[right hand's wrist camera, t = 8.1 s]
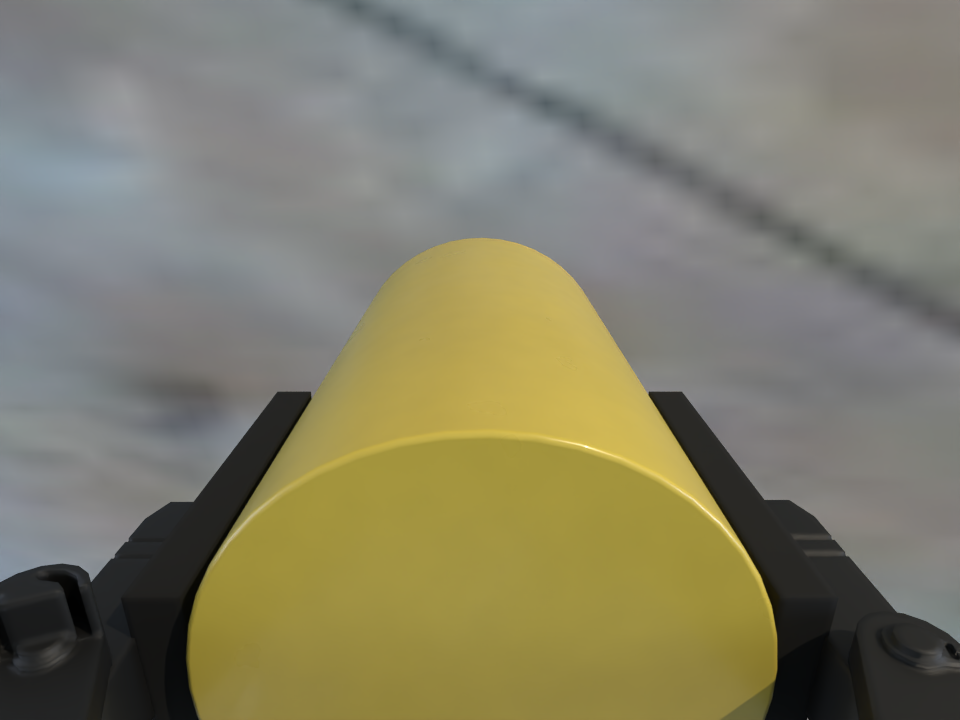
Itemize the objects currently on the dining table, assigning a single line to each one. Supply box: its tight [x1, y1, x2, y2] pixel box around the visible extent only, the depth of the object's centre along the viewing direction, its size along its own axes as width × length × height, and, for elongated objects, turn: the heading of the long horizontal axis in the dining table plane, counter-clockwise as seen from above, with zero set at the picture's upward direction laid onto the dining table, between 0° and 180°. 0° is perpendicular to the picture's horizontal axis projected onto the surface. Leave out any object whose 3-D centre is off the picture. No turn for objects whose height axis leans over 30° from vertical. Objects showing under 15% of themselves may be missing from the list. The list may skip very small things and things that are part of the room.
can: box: [186, 238, 777, 720], centre depth 14 cm, size 8×8×12 cm
